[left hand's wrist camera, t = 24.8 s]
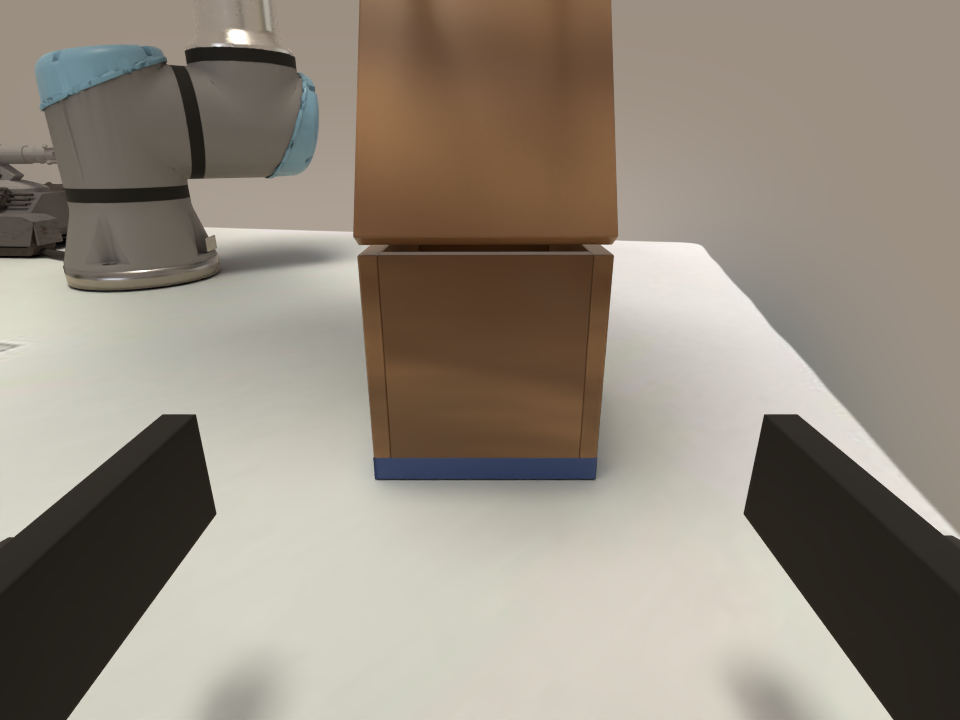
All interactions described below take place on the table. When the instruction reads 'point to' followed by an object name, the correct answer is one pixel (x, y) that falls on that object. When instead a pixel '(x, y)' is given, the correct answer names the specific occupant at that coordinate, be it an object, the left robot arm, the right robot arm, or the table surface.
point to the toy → (29, 204)
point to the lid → (485, 123)
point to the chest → (485, 359)
